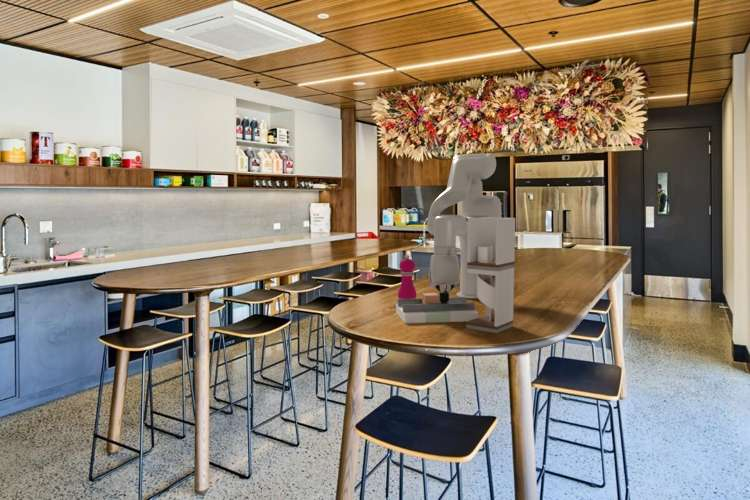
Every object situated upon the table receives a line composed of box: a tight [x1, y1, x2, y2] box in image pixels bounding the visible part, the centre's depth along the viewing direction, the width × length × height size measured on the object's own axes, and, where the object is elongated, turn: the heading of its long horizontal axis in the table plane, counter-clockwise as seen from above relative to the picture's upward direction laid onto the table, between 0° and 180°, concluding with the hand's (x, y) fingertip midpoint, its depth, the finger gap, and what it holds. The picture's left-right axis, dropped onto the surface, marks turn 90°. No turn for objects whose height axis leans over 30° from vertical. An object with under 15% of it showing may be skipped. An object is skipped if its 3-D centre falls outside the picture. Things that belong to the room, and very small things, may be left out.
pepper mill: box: [397, 254, 417, 299], centre depth 204 cm, size 7×7×20 cm
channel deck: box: [395, 303, 479, 324], centre depth 186 cm, size 25×18×3 cm
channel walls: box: [397, 296, 476, 312], centre depth 186 cm, size 25×11×2 cm, turn 97°
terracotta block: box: [421, 292, 440, 304], centre depth 185 cm, size 5×5×5 cm
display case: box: [465, 217, 516, 334], centre depth 169 cm, size 11×11×35 cm
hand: (444, 303), depth 186 cm, fingers closed
